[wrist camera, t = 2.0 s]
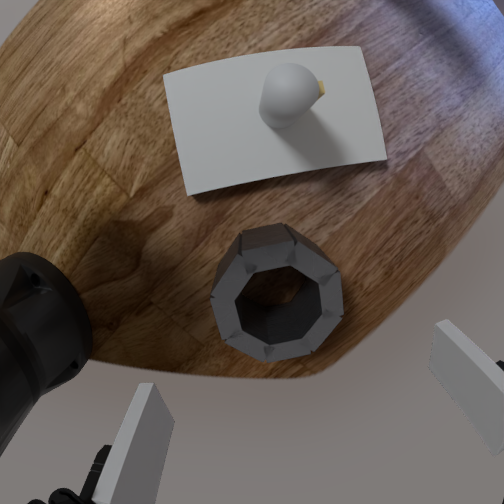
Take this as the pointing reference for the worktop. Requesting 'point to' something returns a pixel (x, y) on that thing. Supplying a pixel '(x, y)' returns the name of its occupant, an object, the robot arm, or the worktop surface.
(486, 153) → the worktop surface
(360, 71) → the shaft stand
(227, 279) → the ring
